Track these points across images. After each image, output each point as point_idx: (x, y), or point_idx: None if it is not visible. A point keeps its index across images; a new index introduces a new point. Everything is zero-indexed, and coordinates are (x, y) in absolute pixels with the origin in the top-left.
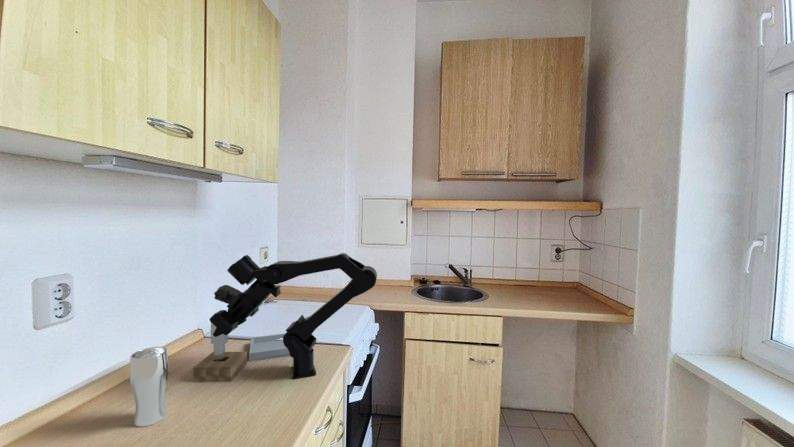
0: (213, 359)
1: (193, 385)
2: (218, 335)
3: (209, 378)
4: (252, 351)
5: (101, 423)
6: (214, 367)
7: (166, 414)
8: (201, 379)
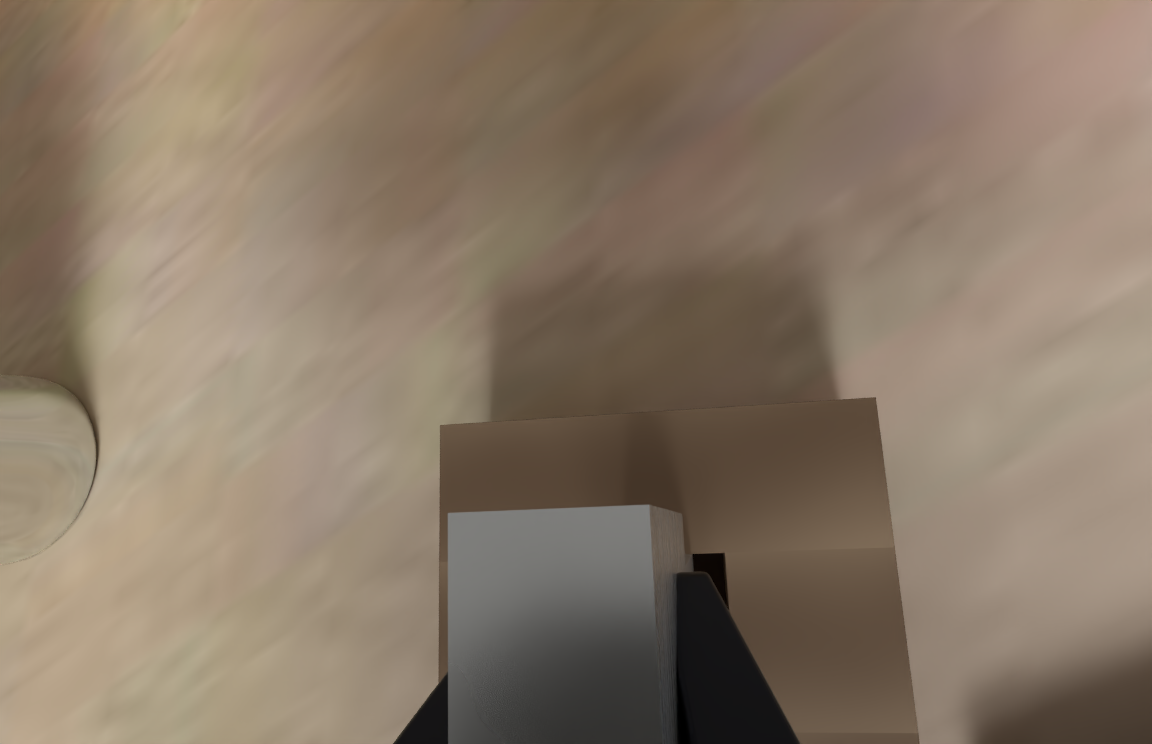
0: None
1: (426, 483)
2: None
3: None
4: None
5: (13, 207)
6: (439, 674)
7: (16, 561)
8: None
